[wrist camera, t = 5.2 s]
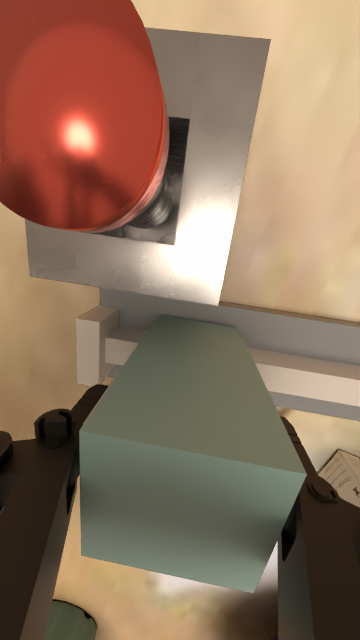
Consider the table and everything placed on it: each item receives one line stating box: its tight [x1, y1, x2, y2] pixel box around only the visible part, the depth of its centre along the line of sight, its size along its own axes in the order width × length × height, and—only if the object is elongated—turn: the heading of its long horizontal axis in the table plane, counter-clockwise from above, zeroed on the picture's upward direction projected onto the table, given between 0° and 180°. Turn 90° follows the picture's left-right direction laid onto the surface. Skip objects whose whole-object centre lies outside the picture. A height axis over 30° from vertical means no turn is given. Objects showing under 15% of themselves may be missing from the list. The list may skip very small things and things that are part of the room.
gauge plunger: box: [0, 0, 175, 233], centre depth 8 cm, size 4×4×7 cm
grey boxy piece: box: [25, 28, 271, 306], centre depth 12 cm, size 9×9×8 cm
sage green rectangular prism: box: [79, 315, 307, 594], centre depth 12 cm, size 6×6×12 cm
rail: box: [76, 287, 360, 421], centre depth 17 cm, size 26×8×5 cm, turn 82°
